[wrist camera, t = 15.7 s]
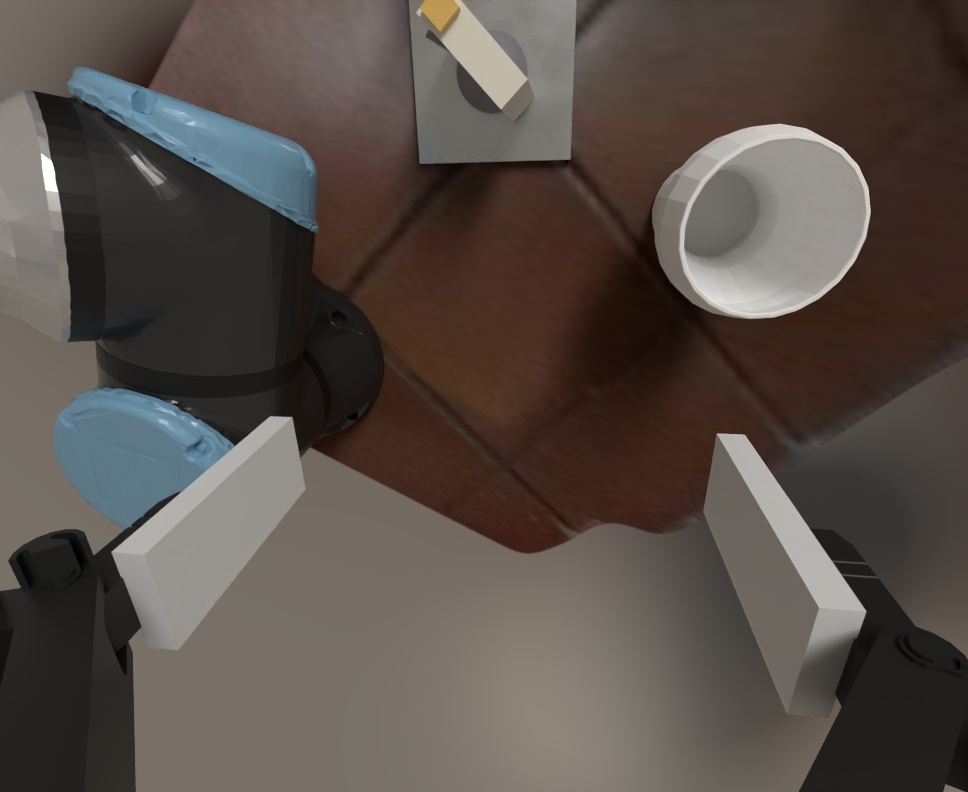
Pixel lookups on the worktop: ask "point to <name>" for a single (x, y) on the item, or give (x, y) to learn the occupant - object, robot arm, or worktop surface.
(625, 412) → the worktop surface
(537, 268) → the worktop surface
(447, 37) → the slab with yellow pad
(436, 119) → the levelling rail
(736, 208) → the cup
